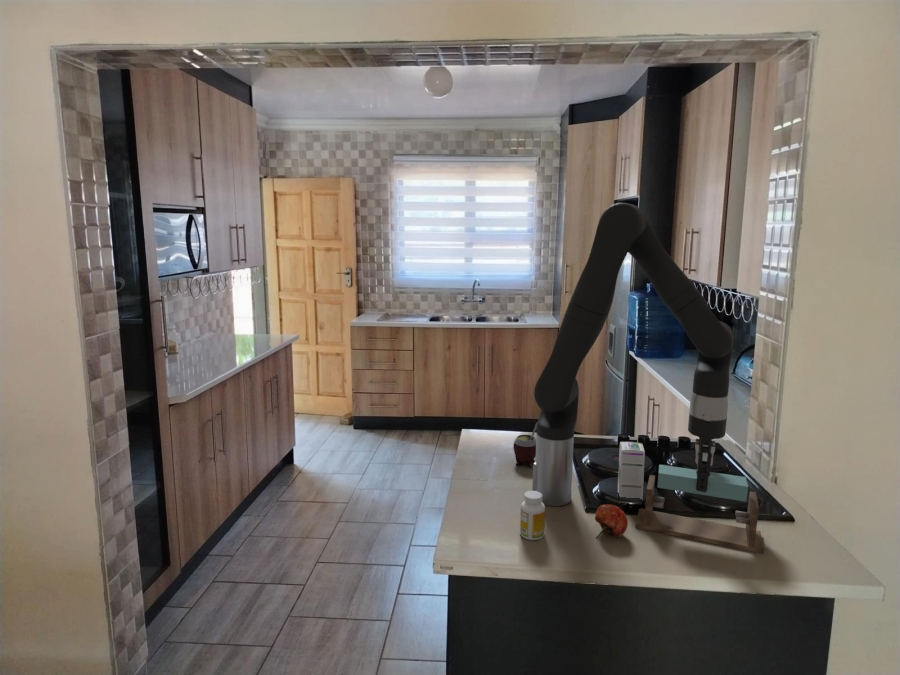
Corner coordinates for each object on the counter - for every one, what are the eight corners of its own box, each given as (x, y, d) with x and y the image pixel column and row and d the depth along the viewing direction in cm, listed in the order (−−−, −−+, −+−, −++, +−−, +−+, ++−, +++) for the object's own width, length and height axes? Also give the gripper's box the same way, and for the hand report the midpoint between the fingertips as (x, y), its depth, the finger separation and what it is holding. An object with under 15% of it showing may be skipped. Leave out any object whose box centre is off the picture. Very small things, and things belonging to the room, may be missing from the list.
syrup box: (642, 506, 141) (646, 451, 138) (617, 503, 142) (621, 449, 139) (639, 495, 147) (643, 442, 144) (616, 493, 148) (619, 440, 145)
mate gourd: (508, 461, 168) (509, 412, 165) (531, 456, 171) (532, 409, 168) (522, 470, 161) (523, 420, 158) (545, 466, 164) (547, 416, 162)
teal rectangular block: (657, 487, 129) (658, 473, 128) (658, 478, 133) (659, 464, 132) (746, 501, 122) (748, 486, 121) (743, 491, 127) (745, 477, 126)
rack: (635, 527, 131) (638, 487, 129) (639, 511, 138) (641, 473, 136) (763, 553, 121) (768, 510, 119) (760, 535, 128) (764, 494, 126)
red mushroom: (613, 555, 124) (644, 523, 126) (595, 533, 122) (626, 500, 124) (594, 541, 131) (624, 510, 133) (577, 519, 129) (607, 489, 131)
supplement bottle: (546, 530, 130) (547, 491, 128) (541, 542, 125) (543, 501, 123) (522, 526, 132) (523, 487, 130) (517, 538, 127) (518, 497, 125)
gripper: (690, 401, 132) (684, 470, 135) (688, 421, 119) (682, 496, 122) (726, 405, 129) (719, 475, 132) (728, 426, 116) (720, 503, 119)
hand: (701, 485), depth 127 cm, fingers closed on teal rectangular block, 5 cm apart
